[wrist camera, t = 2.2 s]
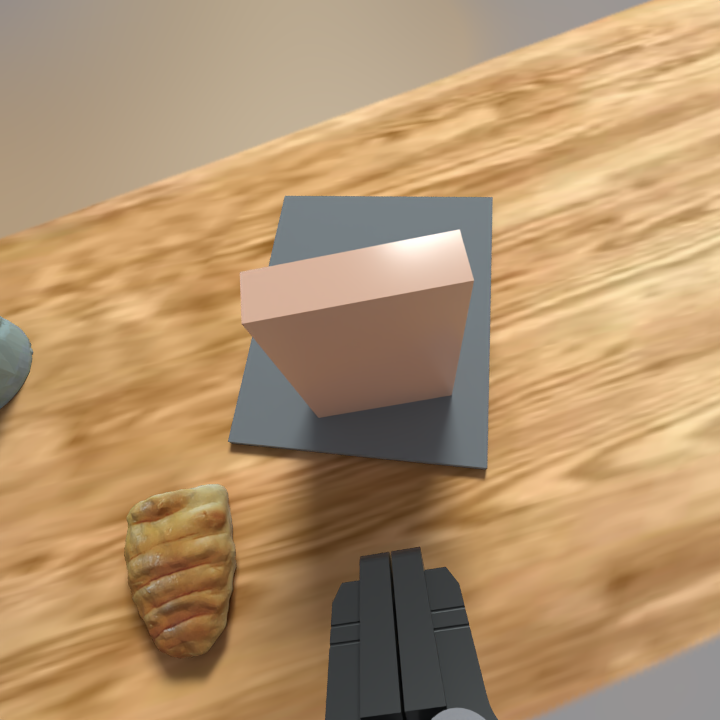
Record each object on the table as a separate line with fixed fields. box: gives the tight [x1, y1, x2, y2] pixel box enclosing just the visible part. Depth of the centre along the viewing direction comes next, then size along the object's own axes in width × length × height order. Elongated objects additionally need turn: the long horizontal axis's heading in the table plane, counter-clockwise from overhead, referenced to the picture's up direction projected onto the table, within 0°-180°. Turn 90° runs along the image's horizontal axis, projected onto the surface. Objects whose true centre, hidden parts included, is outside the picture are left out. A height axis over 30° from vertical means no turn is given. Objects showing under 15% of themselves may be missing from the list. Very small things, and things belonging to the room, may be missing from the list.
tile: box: [240, 229, 474, 418], centre depth 24 cm, size 2×9×14 cm, turn 98°
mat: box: [228, 196, 492, 470], centre depth 33 cm, size 17×21×1 cm
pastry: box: [124, 484, 236, 658], centre depth 27 cm, size 9×7×4 cm
